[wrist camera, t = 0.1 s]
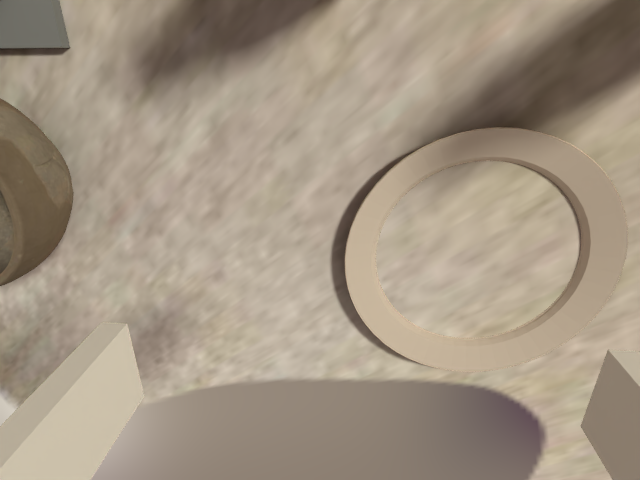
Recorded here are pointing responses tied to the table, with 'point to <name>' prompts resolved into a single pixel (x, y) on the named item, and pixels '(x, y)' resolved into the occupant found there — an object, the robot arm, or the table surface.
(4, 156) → the bowl
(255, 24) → the table surface
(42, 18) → the mat
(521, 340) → the plate
